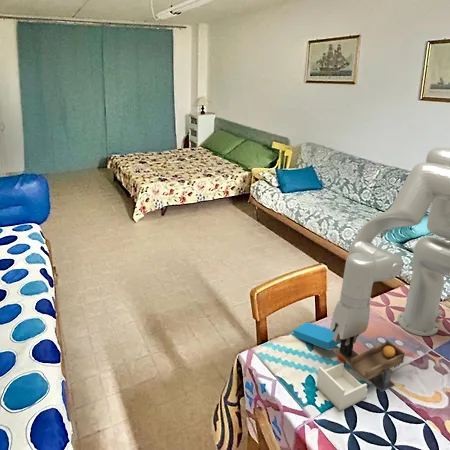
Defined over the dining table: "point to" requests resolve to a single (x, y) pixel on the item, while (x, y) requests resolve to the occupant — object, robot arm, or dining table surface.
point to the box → (340, 387)
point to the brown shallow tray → (373, 360)
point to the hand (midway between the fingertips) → (345, 353)
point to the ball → (389, 351)
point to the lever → (317, 337)
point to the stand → (382, 380)
